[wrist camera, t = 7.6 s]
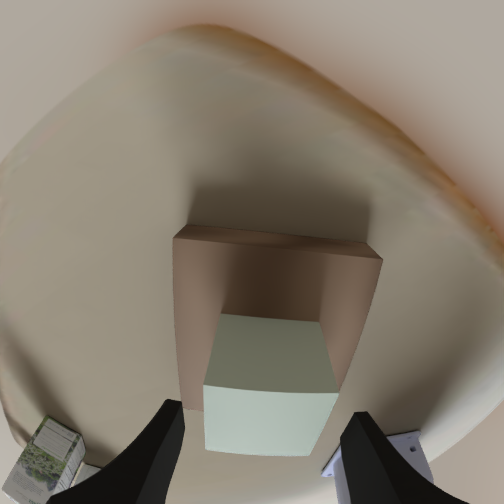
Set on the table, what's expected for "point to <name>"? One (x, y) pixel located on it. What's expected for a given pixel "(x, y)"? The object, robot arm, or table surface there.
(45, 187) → the table surface
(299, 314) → the walnut block
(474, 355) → the table surface
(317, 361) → the sage cube
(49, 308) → the table surface
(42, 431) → the syrup box
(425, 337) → the table surface
